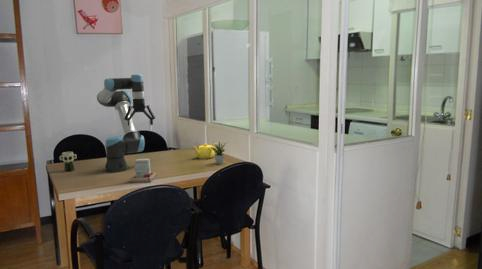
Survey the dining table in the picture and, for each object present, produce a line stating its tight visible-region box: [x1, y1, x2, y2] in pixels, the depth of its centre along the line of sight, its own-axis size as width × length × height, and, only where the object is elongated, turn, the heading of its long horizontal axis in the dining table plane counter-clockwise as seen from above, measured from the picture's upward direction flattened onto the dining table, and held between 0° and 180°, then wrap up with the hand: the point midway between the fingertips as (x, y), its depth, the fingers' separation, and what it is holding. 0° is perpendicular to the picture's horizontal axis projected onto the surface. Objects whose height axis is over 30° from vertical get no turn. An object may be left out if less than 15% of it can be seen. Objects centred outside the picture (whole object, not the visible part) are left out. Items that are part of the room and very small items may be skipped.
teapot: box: [192, 142, 218, 160], centre depth 300 cm, size 22×16×11 cm
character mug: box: [59, 151, 78, 171], centre depth 270 cm, size 11×7×13 cm, turn 112°
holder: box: [129, 171, 158, 184], centre depth 241 cm, size 13×15×2 cm
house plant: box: [210, 141, 229, 165], centre depth 280 cm, size 14×14×16 cm
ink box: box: [134, 158, 152, 178], centre depth 240 cm, size 9×5×12 cm, turn 90°
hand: (140, 130), depth 256 cm, fingers open, 13 cm apart
